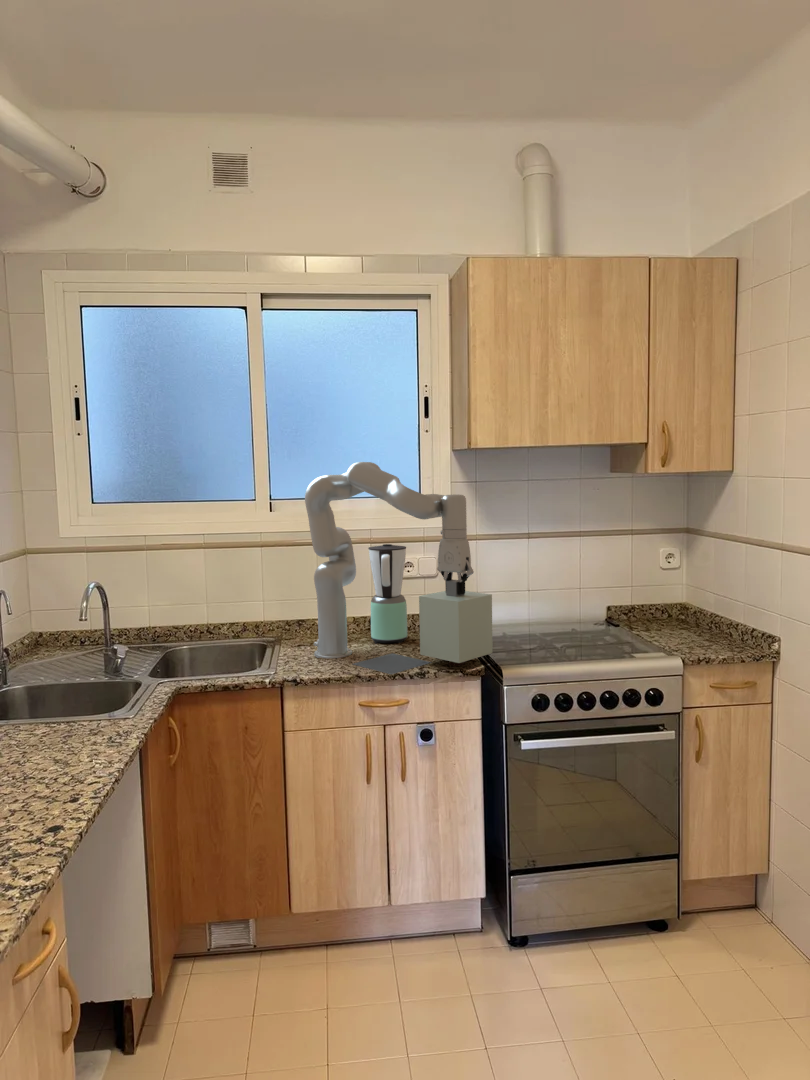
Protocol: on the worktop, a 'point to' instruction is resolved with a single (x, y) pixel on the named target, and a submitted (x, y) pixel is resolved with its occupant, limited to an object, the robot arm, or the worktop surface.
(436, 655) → the cover
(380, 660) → the mat
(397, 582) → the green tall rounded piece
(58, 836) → the worktop surface
